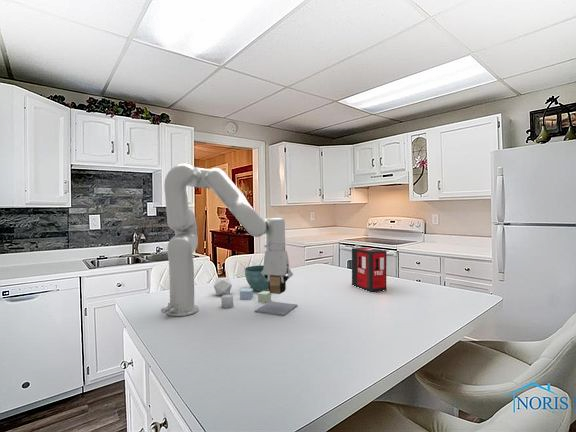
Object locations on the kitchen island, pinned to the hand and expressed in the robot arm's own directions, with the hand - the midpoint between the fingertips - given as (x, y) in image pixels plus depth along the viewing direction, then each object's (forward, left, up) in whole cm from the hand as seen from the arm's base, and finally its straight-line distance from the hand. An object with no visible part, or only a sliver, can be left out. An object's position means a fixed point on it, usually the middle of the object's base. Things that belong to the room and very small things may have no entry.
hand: (277, 290), depth 135 cm
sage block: (+8, +10, -8) cm, 15 cm away
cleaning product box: (+49, -29, -8) cm, 57 cm away
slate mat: (0, 0, -8) cm, 8 cm away
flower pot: (+26, +22, -8) cm, 35 cm away
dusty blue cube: (+9, +20, -8) cm, 23 cm away
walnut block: (0, 0, -1) cm, 1 cm away
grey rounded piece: (-5, +21, -8) cm, 23 cm away
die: (+10, +34, -8) cm, 36 cm away
